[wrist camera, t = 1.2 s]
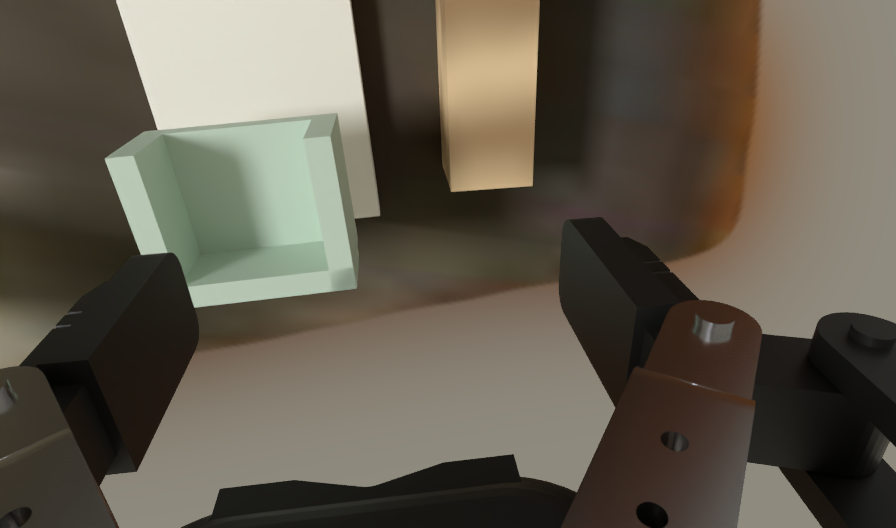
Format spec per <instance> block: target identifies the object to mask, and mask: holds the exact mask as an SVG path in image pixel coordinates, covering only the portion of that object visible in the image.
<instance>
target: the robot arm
mask: <svg viewBox="0 0 896 528" xmlns="http://www.w3.org/2000/svg"><path fill="white" fill-rule="evenodd" d="M559 296H560V302H561V307H562V310H563V312H564V314H565V316H566V318H567V320H568V322H569V323H570V325H571V327H572V329H573V331H574V333H575V334H576V336H577V338H578V340H579V342H580V344H581V345H582V347H583V349H584V351H585V353H586V355H587V356H588V358H589V360H590V362H591V364H592V365H593V367H594V369H595V371H596V373H597V375H598V377H599V378H600V380H601V382H602V384H603V386H604V388H605V389H606V391H607V393H608V395H609V397H610V399H611V400H612V402H613V404H614V406H615V411H614V413H613V415H612V417H611V419H610V421H609V424H608V426H607V428H606V430H605V432H604V434H603V437H602V439H601V441H600V443H599V445H598V448H597V450H596V452H595V454H594V457H593V458H592V461H591V463H590V465H589V467H588V469H587V472H586V474H585V476H584V478H583V481H582V483H581V485H580V487H579V489H578V492H575V491H572V490H570V489H568V488H565V487H562V486H559V485H556V484H553V483H550V482H547V481H542V480H537V479H532V478H526V477H520V476H519V472H518V469H517V465H516V461H515V458H514V455H513V454H512V455H504V456H496V457H487V458H478V459H470V460H462V461H453V462H445V463H441V464H438V465H435V466H432V467H429V468H427V469H423V470H420V471H417V472H414V473H411V474H409V475H406V476H403V477H400V478H397V479H394V480H391V481H388V482H385V483H382V484H379V485H376V486H371V487H357V486H347V485H337V484H327V483H317V482H307V481H297V480H292V481H284V482H276V483H267V484H259V485H250V486H241V487H233V488H224V489H220V490H219V493H218V497H217V500H216V504H215V507H214V510H213V513H212V515H210V516H207V517H204V518H201V519H199V520H197V521H195V522H192V523H190V524H188V525H185V526H183V527H181V528H737V524H738V517H739V511H740V504H741V498H742V490H743V484H744V478H745V471H746V465H747V462H750V463H757V464H765V465H771V466H778V467H779V468H780V470H781V471H782V473H783V474H784V476H785V477H786V478H787V480H788V481H789V482H790V484H791V485H792V487H793V488H794V489H795V491H796V492H797V493H798V495H799V496H800V498H801V499H802V500H803V502H804V503H805V504H806V506H807V507H808V509H809V510H810V511H811V513H812V514H813V515H814V517H815V518H816V519H817V521H818V522H819V524H820V525H821V526H822V528H896V472H895V471H894V470H893V469H892V468H891V467H890V466H889V465H888V464H887V463H886V462H885V461H884V459H883V458H882V457H883V455H884V452H885V450H886V448H887V446H888V444H889V442H892V444H893V445H894V446H895V447H896V324H895V323H893V322H890V321H887V320H884V319H881V318H878V317H874V316H870V315H865V314H859V313H848V312H847V313H832V314H829V315H826V316H824V317H822V318H821V319H820V320H819V322H818V323H817V326H816V329H815V332H814V335H813V338H812V339H805V338H796V337H785V336H775V335H767V334H762V329H761V327H760V325H759V324H758V322H757V321H756V320H755V319H754V318H753V317H751V316H750V315H749V314H747V313H745V312H744V311H742V310H740V309H738V308H735V307H733V306H730V305H727V304H724V303H720V302H715V301H707V300H699V299H698V298H697V297H696V296H695V295H694V294H693V293H692V292H691V291H690V290H689V289H688V288H687V287H686V286H685V285H684V284H683V283H682V282H681V281H680V280H679V278H678V277H677V276H676V275H675V274H674V273H670V269H669V268H668V267H667V266H666V265H665V264H664V263H663V262H660V259H659V258H658V257H657V256H656V255H655V254H654V253H653V252H652V251H651V250H650V249H649V248H648V247H647V246H645V245H643V244H641V243H639V242H637V241H634V240H632V239H630V238H628V237H622V238H621V237H620V236H619V235H618V234H617V233H616V232H615V231H614V230H613V229H612V228H611V226H610V225H609V224H608V223H607V222H606V221H605V220H604V219H603V218H602V217H596V218H584V219H572V220H566V221H565V223H564V225H563V230H562V242H561V258H560V274H559ZM198 339H199V325H198V319H197V315H196V312H195V309H194V305H193V302H192V299H191V296H190V292H189V289H188V286H187V283H186V279H185V276H184V273H183V270H182V266H181V263H180V261H179V259H178V257H177V256H176V255H175V254H174V253H172V252H170V253H158V254H146V255H134V256H131V257H130V258H129V259H128V260H127V261H126V262H125V263H124V264H123V265H122V267H121V268H120V269H119V270H118V271H117V272H116V273H115V275H114V276H113V277H112V278H111V279H110V280H109V281H108V282H105V283H103V284H101V285H100V286H98V287H97V288H95V289H93V290H92V291H90V292H88V293H87V294H85V295H84V296H82V297H81V298H80V299H79V301H78V302H77V303H76V304H75V305H74V306H73V307H72V308H71V309H70V310H69V312H68V315H65V316H64V317H63V318H62V319H61V320H60V321H59V323H58V324H57V325H56V329H52V330H51V331H50V332H49V334H48V335H47V336H46V337H45V338H44V339H43V340H42V341H41V342H40V343H39V344H38V346H37V347H36V348H35V349H34V350H33V351H32V352H31V353H30V354H29V355H28V357H27V358H26V359H25V360H24V361H23V362H22V363H21V364H20V365H19V366H16V367H8V368H3V369H0V528H119V526H118V524H117V522H116V520H115V518H114V516H113V513H112V511H111V510H110V507H109V505H108V503H107V501H106V499H105V497H104V495H103V493H102V491H101V489H100V487H99V486H100V484H101V482H102V481H103V479H104V477H105V475H110V474H119V473H128V472H137V470H138V468H139V466H140V464H141V462H142V460H143V458H144V455H145V453H146V451H147V449H148V447H149V445H150V443H151V441H152V439H153V437H154V435H155V433H156V431H157V429H158V426H159V424H160V422H161V420H162V418H163V416H164V414H165V412H166V410H167V408H168V406H169V404H170V402H171V400H172V397H173V395H174V393H175V391H176V389H177V387H178V385H179V383H180V381H181V379H182V377H183V375H184V373H185V370H186V368H187V366H188V364H189V362H190V360H191V358H192V356H193V354H194V352H195V350H196V347H197V344H198Z"/></svg>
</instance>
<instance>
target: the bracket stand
mask: <svg viewBox="0 0 896 528" xmlns="http://www.w3.org/2000/svg"><path fill="white" fill-rule="evenodd" d="M116 2H117V5H118V8H119V11H120V14H121V17H122V20H123V23H124V26H125V29H126V33H127V36H128V39H129V42H130V45H131V48H132V51H133V54H134V57H135V60H136V64H137V67H138V70H139V73H140V76H141V79H142V82H143V85H144V88H145V91H146V95H147V98H148V101H149V104H150V107H151V110H152V113H153V116H154V119H155V122H156V126H157V129H158V130H155V131H145V132H143V133H141V134H140V135H139V136H137V137H136V138H134V139H133V140H131V141H130V142H128V143H127V144H125V145H124V146H122V147H121V148H119V149H118V150H116V151H115V152H113V153H112V154H111V155H109V156H108V157H106V158H105V161H106V164H107V166H108V169H109V172H110V174H111V177H112V180H113V182H114V185H115V187H116V190H117V193H118V195H119V198H120V201H121V203H122V206H123V209H124V211H125V214H126V217H127V219H128V222H129V224H130V227H131V230H132V232H133V235H134V238H135V240H136V243H137V246H138V248H139V251H140V254H141V255H146V254H158V253H170V252H172V253H174V254H175V255H176V256H177V257H178V259H179V261H180V263H181V266H182V270H183V273H184V276H185V279H186V283H187V286H188V289H189V292H190V296H191V299H192V302H193V305H194V308H195V307H204V306H212V305H221V304H229V303H238V302H246V301H255V300H263V299H272V298H280V297H289V296H297V295H306V294H314V293H323V292H331V291H340V290H348V289H357V280H358V265H359V253H358V247H357V246H358V236H357V230H356V224H355V219H356V218H366V217H375V216H380V204H379V197H378V190H377V183H376V176H375V168H374V161H373V154H372V147H371V140H370V133H369V125H368V118H367V111H366V104H365V97H364V90H363V83H362V75H361V68H360V61H359V54H358V47H357V40H356V32H355V25H354V18H353V11H352V4H351V0H116Z"/></svg>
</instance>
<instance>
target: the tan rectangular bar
mask: <svg viewBox="0 0 896 528" xmlns="http://www.w3.org/2000/svg"><path fill="white" fill-rule="evenodd" d="M435 1H436V25H437V49H438V73H439V97H440V121H441V145H442V166H443V169H444V172H445V175H446V178H447V181H448V184H449V187H450V190H451V192H458V191H471V190H485V189H498V188H512V187H526V186H533V160H534V135H535V109H536V83H537V58H538V32H539V6H540V0H435Z"/></svg>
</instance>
